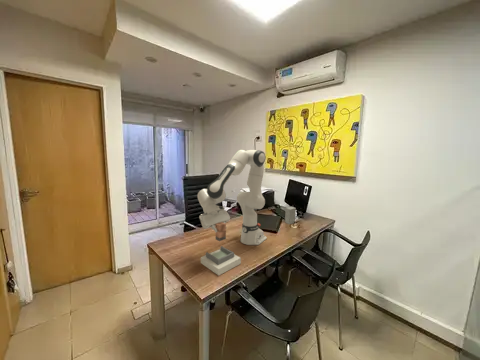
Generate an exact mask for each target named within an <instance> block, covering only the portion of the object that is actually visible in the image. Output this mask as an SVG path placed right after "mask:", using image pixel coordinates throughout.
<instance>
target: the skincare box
mask: <svg viewBox="0 0 480 360" xmlns="http://www.w3.org/2000/svg"><path fill="white" fill-rule="evenodd" d="M296 211H297V208H296V207H294V206H287V207H285V210H284V212H285V213H284V214H285V216H284V223H286V224H287V225H290V224H292V225H293V224H295V223H294V222H296Z"/></svg>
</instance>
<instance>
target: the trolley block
mask: <svg viewBox="0 0 480 360" xmlns="http://www.w3.org/2000/svg"><path fill="white" fill-rule="evenodd" d="M215 228H216V229H217V228H218V230H219V231H218V232H215V240H216V241H219V242H221V241H224V240H227V223H226V224H225V223H223V222H221V223H217V224H216V226H215Z"/></svg>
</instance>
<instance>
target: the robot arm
mask: <svg viewBox="0 0 480 360" xmlns="http://www.w3.org/2000/svg"><path fill="white" fill-rule="evenodd" d="M266 158H267V157H266V153H265V152H264V151H262V150H260V149H258V150H256V149H248V150H247V149H245V150H244V149H239V150H237V152H235V154H234V155H232V157H231V159H230V160H229V162H228V163H227V165H226V166H225V167H224V168H223V170H221V171H220V174H218V176H217V177H216V179H214V180H213V181H212V182H210V183H209V184H208V185H207V187H206V188H202V189H201V190H199V191H198V192H197V201H198V202H199V205H200V206H201V208H202V210H203V213H201V214H200V215H199V217H198V219H199V221H200V223H201V226H202V228H203V229H204V230H205V229H209V228H210V229H211V230H213V231H214V233H216V232H218V231H219V230H218V228H217V229H216V224H217V223H221V222H223V223H225V224H226V225H227V223H228V222H229V221H230V220H231V216H230V214H229V213H228V212H227V210H226V208H225V206H221V205H219V204H220V203H223V202H224V201H225V200H226V197H227V193H226V191H225V190H224V187H225V184H226V183H227V182H228V181H229V179H230V177H232V176H235V177H236V176H240V174H241V173H242V172H243V170H244V169H245V168H246V165H249V166H250V169H249V172H248V176H247V181H246V186H247V187H248V189H249V191H240V192H238V193H237V196H236V201H237V203H238V204H239V206H240V208H241V212H242V226H241V227H242V228H241V236H240V243H242V244H244V245H247V246H260V245H261V244H262V243H263V242H265V241H266V240H267V238H268V237H267V236H265V234H264V231H263V230H262V229H261V228H259V227H261V223H259V222H258V214H257V212H256V211H255V210H261V209H263V208H264V206H265V204H266V199H265V197H264V195H263V193H262V185H263V184H262V182H263V177H264V171H265V164H264V163H266V162H265V161H266Z"/></svg>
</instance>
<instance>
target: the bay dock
mask: <svg viewBox="0 0 480 360" xmlns="http://www.w3.org/2000/svg"><path fill="white" fill-rule="evenodd" d="M241 261H242V258H241V256H238V255H236V254H235V252H234V251H232V250H230V249H228V248H226V247H224V246H222V245H220V247H219V249H217V250H214V251H213V252H208V251H206V252H205V255H203V256H201V257H200V264H201V265H203V266H204V267H206V268H207V269H209V270H210V271H211V272H213V273H214V274H216V275H217V276H220V275H223V274H224V273H227V272H229V271H230V270H232V269H234V268H236V267H237V266H240V265H241V263H242V262H241Z"/></svg>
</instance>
